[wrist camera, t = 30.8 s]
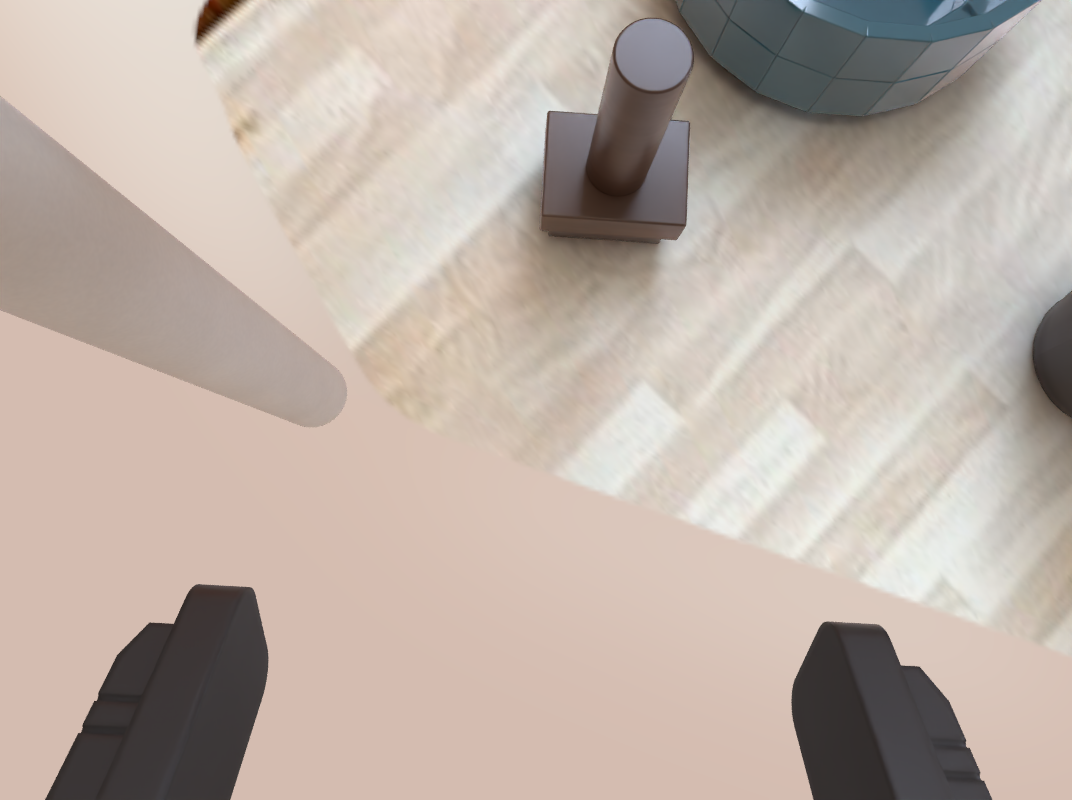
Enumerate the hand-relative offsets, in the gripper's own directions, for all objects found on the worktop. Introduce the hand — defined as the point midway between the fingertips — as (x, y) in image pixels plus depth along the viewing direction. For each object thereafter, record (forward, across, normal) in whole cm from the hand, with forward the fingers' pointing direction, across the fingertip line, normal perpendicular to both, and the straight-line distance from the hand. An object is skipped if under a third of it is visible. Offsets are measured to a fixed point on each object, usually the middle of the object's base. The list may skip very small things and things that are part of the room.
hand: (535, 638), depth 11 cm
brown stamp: (+23, -3, +3) cm, 23 cm away
